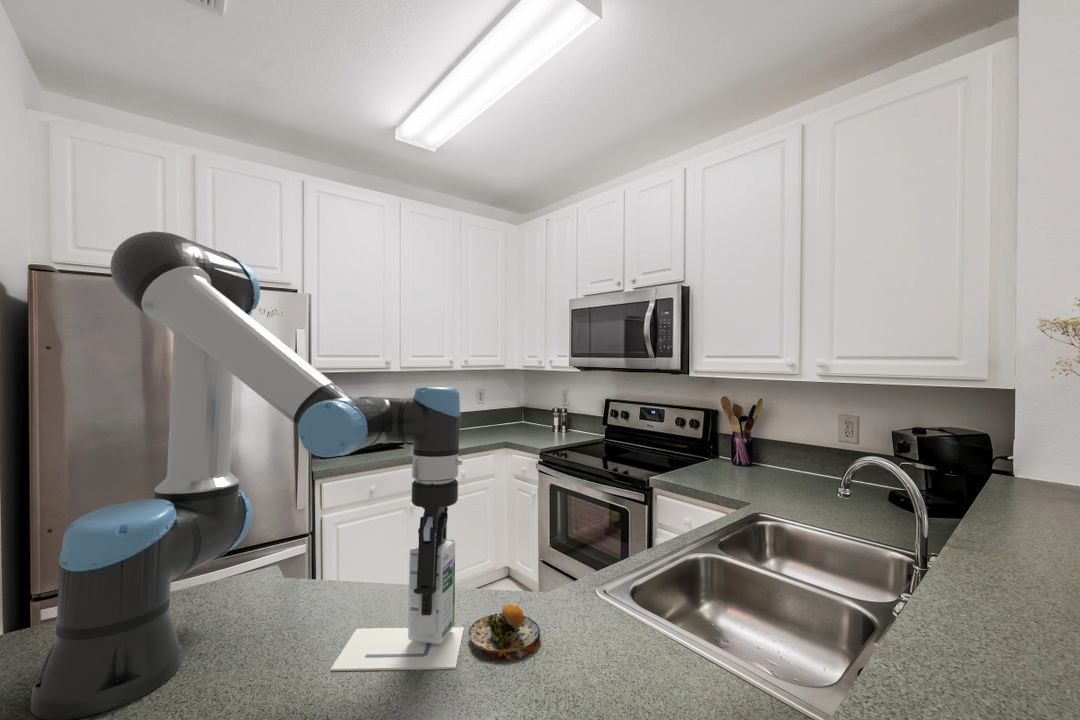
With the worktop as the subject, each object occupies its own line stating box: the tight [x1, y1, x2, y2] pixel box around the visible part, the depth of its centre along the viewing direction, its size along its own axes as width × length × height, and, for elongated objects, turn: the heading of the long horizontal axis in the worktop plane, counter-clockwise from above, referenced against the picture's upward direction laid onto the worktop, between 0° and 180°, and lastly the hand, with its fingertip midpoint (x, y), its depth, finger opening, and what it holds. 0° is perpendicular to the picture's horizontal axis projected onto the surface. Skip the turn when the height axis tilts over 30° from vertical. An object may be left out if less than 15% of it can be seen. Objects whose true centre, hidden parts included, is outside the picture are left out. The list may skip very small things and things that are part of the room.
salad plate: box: [468, 596, 541, 662], centre depth 75 cm, size 12×12×8 cm
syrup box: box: [407, 538, 456, 644], centre depth 76 cm, size 6×6×14 cm
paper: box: [330, 626, 465, 672], centre depth 72 cm, size 18×11×1 cm, turn 93°
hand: (431, 620), depth 75 cm, fingers closed on syrup box, 6 cm apart
